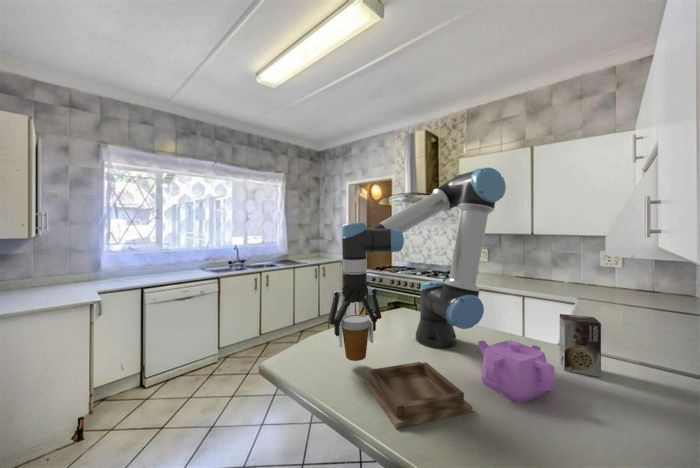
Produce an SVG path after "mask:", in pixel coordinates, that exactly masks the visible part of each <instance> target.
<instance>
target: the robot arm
mask: <svg viewBox="0 0 700 468" xmlns="http://www.w3.org/2000/svg"><path fill="white" fill-rule="evenodd" d="M506 186H507V185H506V181H505V178H504V177H503V175H502V174H501V172H500V171H498V170H497V169H495V168H492V167H482V168H477V169H474V170H472V171H468V172H465V173H464V172H463V173H461V174H459V175H456V176H454V177H453V178H451V179H449V180H448V181H446V182H444V183H443V184H441V185H440V186H438V187H436V188H434V189H433V190H432V193H431V194H429V195H428V196H426V197H423V198H422V199H419V201H417V202H415V203H413V204H411V205H409V206H408V207H406V208H404V209H402V210H401V211H399V212H396V213H395V214H393V215H391V216H390V217H388V218H387V219H385V220H384V219H383V221H381V222H379V223H377V224H375V225H373V226H372V227H368V228H367V224H366V223H365V222H346V223H344V224H343V225H342V227H341V228H342V229H341V230H342V231H341V248H342V251H341V252H342V272H343V273H342V288H341V290H333V291H332V298H333V299H332V302H331V306H330V307H331V308H330V311H329V316H328V320H327V321H328V323H329V324H330V325H333V327H334V331H333V333H334V335H335V337H337V346H338V347H339V348H343V332H342V325H341V324H340V323H341V321H342V319H343V317H344V316H345V314H346V312H347V311H348V308H349V307H350V306H351V304H354V303H361V304H362V305H361V306H363V308H364V309H365V312H366V313H367V315H368V318H369V321H370V322H371V323H370V326H369V331H368V341H369V342H370V344H373V343H374V332H376V331H377V325H376V324H377V322H378V320H381V319H382V313H381V309H380V306H379V302H378V299H377V298H378V297H377V289H376V288H375V287H370V288H369V287H368V285H367V284H368V282H367V281H368V278H367V277H368V275H367V273H366V272H367V270H368V267H367V253H368V254H370V253H395V252H396V253H397V252H401V251H402V250H403V247H404V243H405V240H404V239H405V237H404V233H406V232H407V231H409V230H411V229H413V228H415V227H416V226H418V225H420V224H421V223H423V222H425V221H427V220H428V219H431V218H432V217H434V216H435V215H437V214H439V213H441V212H447V211H449V210H451V209H454V208H457V207H458V209H459V210H460V215H459V216H460V218H459V223H458V229H457V233H456V238H455V245H454V250H453V255H452V259H451V260H452V262H451V267H450V270H449V271H450V272H449V276H448V279H446V280H431V281H429V280H428V281H423V282H422V283H421V284H420V290H419V292H420V293H419V295H420V296H419V297H420V299H419V300H420V301H419V302H420V305H419V306H420V308H419V309H420V311H419V312H420V314H419V315H420V319H419V322H418V325H417V328H416V331H415V340H416V341H417V343H419V344H421V345H424V346H426V347H430V348H437V349H447V348H451V347H454V346H455V345H456V344H457V335H456V332H455V329H454V327H456V328H458V329H461V330H467V329H471V328H474V326H476V325H478V324H479V323H480V321H481V320H482V318H483V315H484V312H485V306H484V304H483V301H482V300H481V298H479V295H480V288H479V287H478V286H477V278H478V272H479V267H480V263H481V262H480V260H481V255H482V250H483V244H484V238H485V234H486V233H485V232H486V227H487V221H488V217H489V214H491V213H492V212H494V211H495V206H496V203H497V202H498V201H500V200H501V199H502V198H503V197H504V196H505V193H506V189H507V188H506ZM367 294H368V295H369V298H370V300H371V305H372V308H373V310H372V309H371V307H370V305H369V303H368V301H367V299H366V296H367ZM342 296H343V300H342V303H341V305H340V307H339V302H340V299H341V297H342ZM338 307H339V310H338ZM337 311H338V312H337Z"/></svg>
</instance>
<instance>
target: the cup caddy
mask: <svg viewBox="0 0 700 468" xmlns="http://www.w3.org/2000/svg"><path fill="white" fill-rule="evenodd" d="M363 378H364V379H363V382H364V384H365V385H366V386H367V388H368V390H369V391H370V392H371V394H372V395H373V397H374V399H375V400H376V402H377V403H378V404H379V406H380V407H381V408H382V409H381V410H383V411H384V413H385V415H386V416H387V418H388V419H389V421H390V422H391V424H392V425H393V426H394V429H396V430H397V429H401V428H406V427H411V426H414V425H415V426H416V425H420V424H424V423H428V422H432V421H437V420H442V419H446V418H450V417H455V416H458V415H462V414H467V413H472V412H473V406H472V405H471V404H470V403H469V402H467V401H466V400H465V392H464V391H462V390H461V389H460V388H458V387H457V386H456V385H455V384H454V383H453V382H451V381H450V380H449V379H447V377H445V376H444V375H443V374H441V373H440V372H439V371H438V370H436V369H435V368H434V367H432V366H431V365H430V364H429V362H421V361H417V362H411V363H404V364H399V365H398V364H397V365H390V366H385V367H378V368H374V369H373V370H370V371H369V376H364V377H363Z"/></svg>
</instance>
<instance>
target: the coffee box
mask: <svg viewBox="0 0 700 468" xmlns="http://www.w3.org/2000/svg"><path fill="white" fill-rule="evenodd" d="M558 362H559V365H560V366H561V368H562V369H563V372H568V373H575V374H582V375H586V376H594V377H599V378H601V377H602V322H600V321H599V320H598V319H597V318H596V317H594V316H585V315H576V314H575V315H574V314H563V313H559V361H558Z"/></svg>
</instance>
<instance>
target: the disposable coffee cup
mask: <svg viewBox="0 0 700 468" xmlns="http://www.w3.org/2000/svg"><path fill="white" fill-rule="evenodd" d="M369 320H370V317H369V316H366V315H364V314H348V315H344V316H343V319H342V321H341V323H340V324H341V325H342V340H343V344H344V353H345V358H346V359H347V360H349V361H352V362H359V361H363V360H364V359H366V357H367V349H368V341H369V340H368V331H369V326H370V323H371V322H370V321H369Z"/></svg>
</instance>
